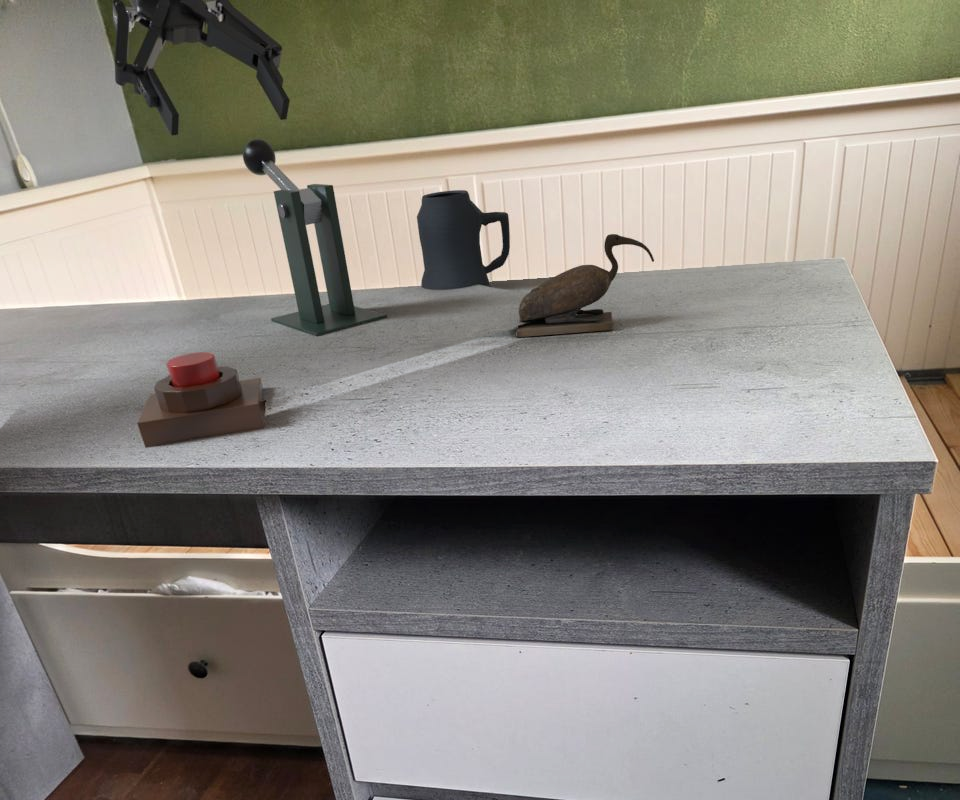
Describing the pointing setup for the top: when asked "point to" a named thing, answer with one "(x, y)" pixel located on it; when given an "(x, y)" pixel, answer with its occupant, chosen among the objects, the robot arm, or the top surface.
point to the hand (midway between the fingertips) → (232, 117)
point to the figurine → (572, 298)
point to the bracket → (333, 263)
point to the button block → (202, 409)
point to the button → (193, 369)
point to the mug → (456, 241)
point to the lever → (280, 177)
